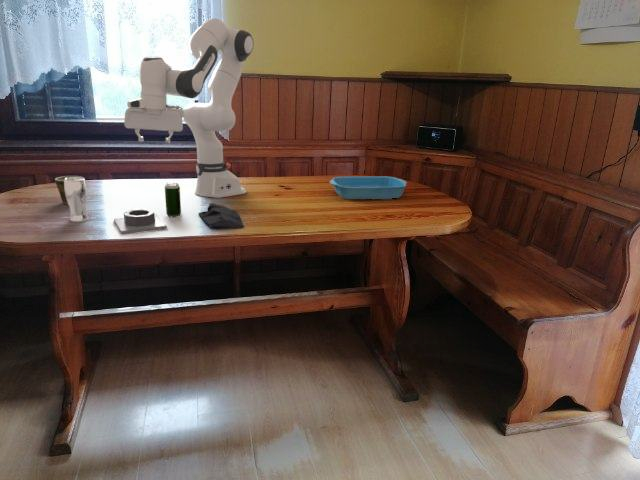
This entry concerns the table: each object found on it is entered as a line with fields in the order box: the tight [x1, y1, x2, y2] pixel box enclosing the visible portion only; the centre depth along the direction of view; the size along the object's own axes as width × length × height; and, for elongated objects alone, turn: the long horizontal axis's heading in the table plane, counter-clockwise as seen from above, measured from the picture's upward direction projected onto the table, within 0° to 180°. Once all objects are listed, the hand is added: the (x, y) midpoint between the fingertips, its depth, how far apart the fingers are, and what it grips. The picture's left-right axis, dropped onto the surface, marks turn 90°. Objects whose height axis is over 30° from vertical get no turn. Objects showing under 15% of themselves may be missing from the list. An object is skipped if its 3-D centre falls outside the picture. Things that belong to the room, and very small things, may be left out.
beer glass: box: [64, 176, 90, 223], centre depth 172 cm, size 7×7×15 cm
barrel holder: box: [113, 208, 168, 235], centre depth 171 cm, size 15×15×5 cm
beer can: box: [164, 182, 182, 218], centre depth 183 cm, size 5×5×12 cm
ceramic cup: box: [54, 175, 82, 206], centre depth 194 cm, size 13×10×10 cm
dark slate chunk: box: [198, 202, 245, 229], centre depth 181 cm, size 15×22×5 cm
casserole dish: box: [329, 175, 408, 200], centre depth 227 cm, size 37×22×7 cm, turn 102°
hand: (154, 142), depth 179 cm, fingers open, 8 cm apart
